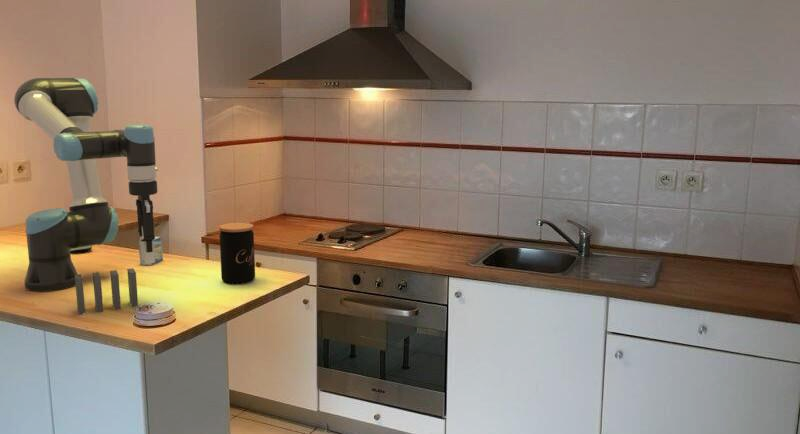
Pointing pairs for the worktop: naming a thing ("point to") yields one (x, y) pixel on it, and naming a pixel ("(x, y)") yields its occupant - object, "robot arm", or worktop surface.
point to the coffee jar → (237, 253)
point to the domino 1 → (79, 294)
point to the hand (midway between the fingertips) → (148, 260)
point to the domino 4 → (132, 287)
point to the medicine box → (157, 251)
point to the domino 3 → (115, 289)
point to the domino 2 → (98, 291)
